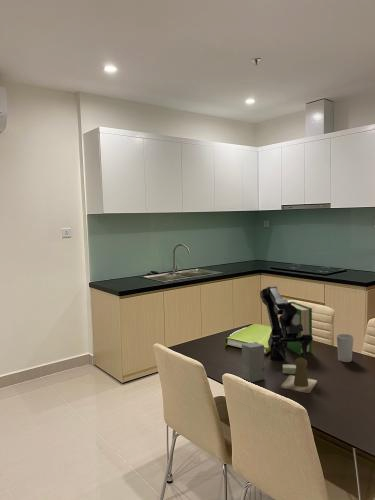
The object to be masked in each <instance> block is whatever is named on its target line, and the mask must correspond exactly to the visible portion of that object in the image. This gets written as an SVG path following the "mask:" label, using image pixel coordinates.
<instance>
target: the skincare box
mask: <svg viewBox="0 0 375 500" xmlns="http://www.w3.org/2000/svg"><path fill="white" fill-rule="evenodd" d="M241 365H242V366H241V374H242V375H241V377H242V379H243V380H245V381H248V382H249V383H250V382H252V383H254V382H259V381H262V380H265V345H264V344H262V343H259V342H257V341H255V342H254V341H253V342H246V343H242V344H241Z"/></svg>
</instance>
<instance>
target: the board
mask: <svg viewBox="0 0 375 500" xmlns="http://www.w3.org/2000/svg"><path fill="white" fill-rule="evenodd" d="M294 378H295V375H293V374H289V375H288V377H287V378H286V379H285V380H284V381H283V382H282V384H281V387H280V388H283V389H288V390H292V391H295V392H296V391H297V392H301V393H306V394H311V392H312V391H313V390H314V388H315V386H316V385H317V383H318V380H316V379H312V378H308V386H306V387H299V386H296V385H294Z"/></svg>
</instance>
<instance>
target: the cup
mask: <svg viewBox="0 0 375 500" xmlns="http://www.w3.org/2000/svg"><path fill="white" fill-rule="evenodd" d="M354 338H355V337H354V335H352V334H347V333H339V334H338V333H337V334H336V345H337V347H336V348H337V360H338V361H340V362H343V363H350V362H352V360H353V358H352V357H353V349H354V348H353V347H354Z"/></svg>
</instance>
